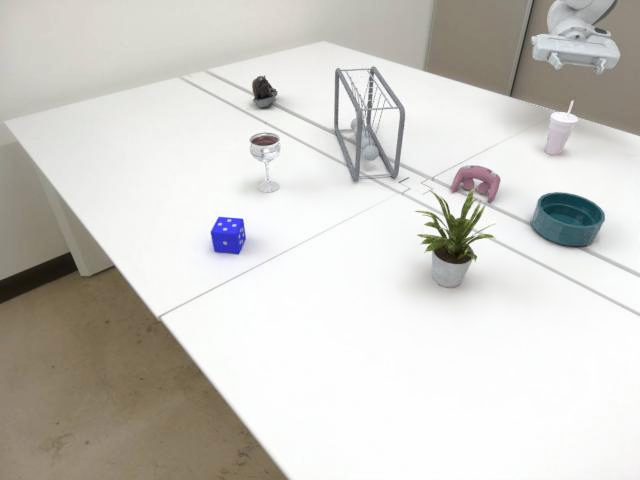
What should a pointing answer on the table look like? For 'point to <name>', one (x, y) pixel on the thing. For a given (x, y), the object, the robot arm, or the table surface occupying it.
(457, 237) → the house plant
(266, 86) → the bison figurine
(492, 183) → the video game controller
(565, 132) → the smoothie
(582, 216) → the bowl
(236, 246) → the die
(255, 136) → the wineglass
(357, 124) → the newton's cradle
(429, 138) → the table surface
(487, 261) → the table surface
